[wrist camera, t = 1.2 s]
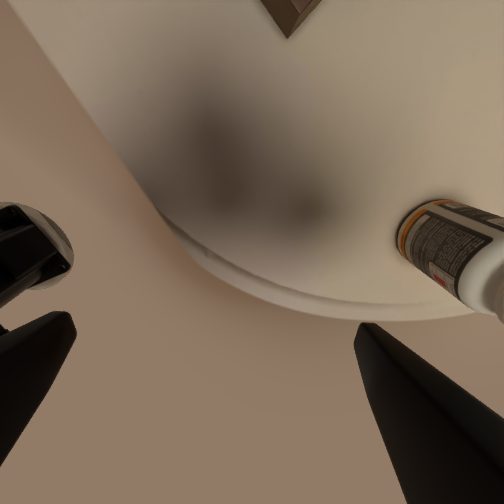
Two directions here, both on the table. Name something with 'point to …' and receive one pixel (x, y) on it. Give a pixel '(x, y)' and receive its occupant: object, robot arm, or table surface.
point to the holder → (289, 12)
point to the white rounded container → (458, 252)
